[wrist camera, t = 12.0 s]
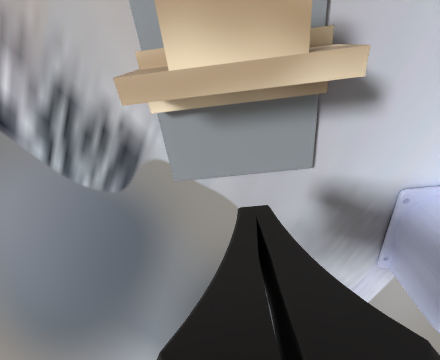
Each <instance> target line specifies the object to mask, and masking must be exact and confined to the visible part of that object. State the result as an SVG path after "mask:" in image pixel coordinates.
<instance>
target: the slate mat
mask: <svg viewBox="0 0 440 360" xmlns="http://www.w3.org/2000/svg"><path fill="white" fill-rule="evenodd" d="M129 2H130V6H131V10H132V14H133V18H134V22H135V26H136V30H137V34H138V38H139V42H140V46H141V50H142V51H144V50H152V49H159V48H164V45H163V40H162V35H161V30H160V26H159V21H158V16H157V11H156V6H155V1H154V0H129ZM326 10H327V0H312V13H311V28H315V27H322V26H325V21H326ZM318 98H319V94H313V95H305V96H296V97H288V98H279V99H271V100H262V101H254V102H245V103H237V104H228V105H220V106H211V107H203V108H194V109H186V110H177V111H169V112H161V113H157V114H158V118H159V122H160V126H161V130H162V134H163V139H164V143H165V147H166V151H167V155H168V159H169V163H170V167H171V171H172V174H173V179H174V181H182V180H192V179H202V178H213V177H223V176H233V175H243V174H253V173H263V172H273V171H283V170H293V169H303V168H312V165H313V154H314V142H315V131H316V120H317V109H318Z"/></svg>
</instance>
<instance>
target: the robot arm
mask: <svg viewBox="0 0 440 360" xmlns="http://www.w3.org/2000/svg"><path fill="white" fill-rule="evenodd" d="M405 199H406V200H405ZM377 265H378V267H379V268H381V269H385V268H389V269H390V270H391V272H392V273H393V274H394V276H395V277H396V278H397V280H398V281H399V282H400V284H401V285H402V286H403V288H404V289H405V291H406V292H407V293H408V295H409V296H410V297H411V298H412V300H413V301H414V303H415V304H416V305H417V307H418V308H419V309H420V311H421V312H422V313H423V315H424V316H425V317H426V319H427V320H428V321H429V323H430V324H431V325H432V326H433V327H434V328H435V329H436V330H437V331H438V332H439V333H440V186H434V187H423V188H412V189H404V190H402V191H401V192H400V193H399V196H398V199H397V202H396V205H395V208H394V212H393V215H392V218H391V221H390V224H389V227H388V230H387V233H386V237H385V240H384V243H383V246H382V249H381V252H380V255H379V259H378V262H377ZM262 277H263V278H262ZM263 281H264V283H263ZM264 285H265V287H264ZM265 289H266V292H265ZM266 293H267V297H268V301H269V305H270V309H271V314H272V319H273V323H274V329H273V325H272V321H271V316H270V311H269V307H268V302H267V297H266ZM274 330H275V334H274ZM275 337H276V338H275ZM157 360H440V355H439V354H438V353H437V352H436V350H435V349H434V348H433V347H432V346H431V344H430V343H429V342H428V340H426V339H424V338H423V337H421V336H419V335H418V334H416V333H414V332H413V331H411V330H410V329H408V328H406V327H405V326H403V325H401V324H400V323H398V322H396V321H395V320H393V319H391V318H390V317H388V316H387V315H385V314H384V313H382V312H381V311H379V310H378V309H376V308H375V307H373V306H372V305H370V304H369V303H367V302H366V301H364V300H363V299H362V298H360V297H359V296H358V295H356V294H355V293H354V292H352V291H351V290H350V289H349V288H347V287H346V286H345V285H343V284H342V283H341V282H339V281H338V280H337V279H336V278H334V277H333V276H332V275H331V274H330V273H328V272H327V271H326V270H325V269H324V268H323V267H322V266H320V265H319V264H318V263H317V262H316V261H315V260H314V259H313V258H312V257H311V256H310V255H309V254H308V253H307V252H306V251H305V250H304V249H303V248H302V247H301V246H300V245H299V244H298V243H297V242H296V241H295V240H294V238H293V237H292V236H291V235H290V234H289V233H288V231H287V230H286V229H285V228H284V226H283V225H282V224H281V223H280V221H279V220H278V219H277V217H276V216H275V214H274V213H273V211H272V210H271V208H270V207H269V206H268V205H263V206H252V207H240V208H239V209H238V215H237V221H236V225H235V229H234V232H233V235H232V238H231V241H230V244H229V246H228V248H227V251H226V253H225V256H224V258H223V260H222V262H221V264H220V266H219V268H218V270H217V272H216V274H215V276H214V278H213V280H212V281H211V283H210V285H209V286H208V288H207V290H206V291H205V293H204V294H203V296H202V298H201V299H200V301H199V302H198V303H197V305H196V306H195V308H194V309H193V311H192V312H191V314H190V315H189V316H188V318H187V319H186V320H185V322H184V323H183V324H182V326H181V327H180V328H179V330H178V331H177V332H176V333H175V334H174V336H173V337H172V338H171V339H170V341H169V342H168V343H167V344H166V345H165V347H164V348H163V349H162V350H161V352H160V353H159V356H158V358H157Z"/></svg>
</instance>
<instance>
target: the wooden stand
mask: <svg viewBox="0 0 440 360" xmlns="http://www.w3.org/2000/svg"><path fill="white" fill-rule="evenodd" d="M154 1H155V6H156V11H157V16H158V21H159V26H160V30H161V35H162V40H163V45H164V48H159V49H152V50H144V51H137V52H135V53H136V57H137V61H138V65H139V70H136V71H133V72H130V73H127V74H124V75H121V76H118V77H115V78H114V82H115V85H116V88H117V91H118V94H119V97H120V100H121V104H122V106H123V105H132V104H140V103H149V107H150V111H151V114H152V113H161V112H169V111H177V110H186V109H194V108H203V107H211V106H220V105H228V104H237V103H245V102H254V101H262V100H271V99H279V98H288V97H296V96H305V95H313V94H321V93H327V88H328V81H330V80H338V79H346V78H354V77H363V76H365V73H366V67H367V61H368V56H369V50H370V45H351V44H332V41H333V31H334V25H329V26H322V27H315V28H311V13H312V0H154Z"/></svg>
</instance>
